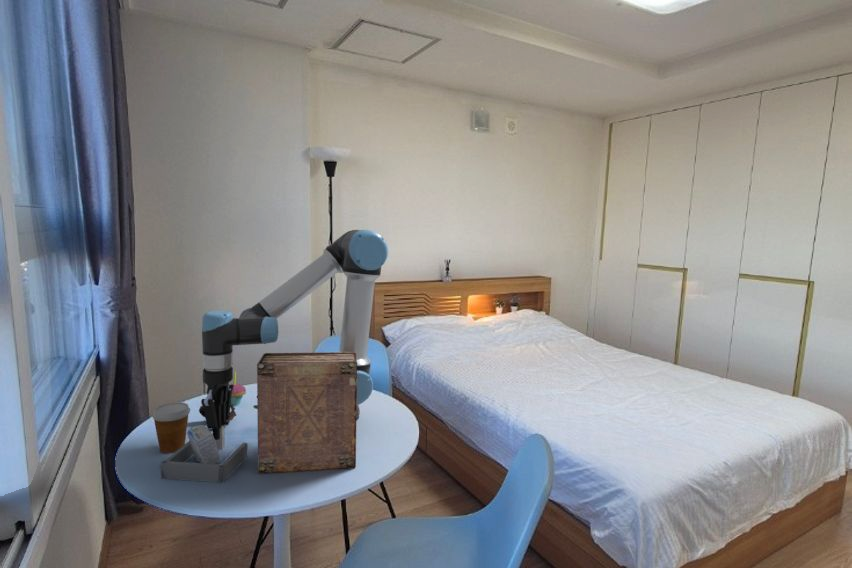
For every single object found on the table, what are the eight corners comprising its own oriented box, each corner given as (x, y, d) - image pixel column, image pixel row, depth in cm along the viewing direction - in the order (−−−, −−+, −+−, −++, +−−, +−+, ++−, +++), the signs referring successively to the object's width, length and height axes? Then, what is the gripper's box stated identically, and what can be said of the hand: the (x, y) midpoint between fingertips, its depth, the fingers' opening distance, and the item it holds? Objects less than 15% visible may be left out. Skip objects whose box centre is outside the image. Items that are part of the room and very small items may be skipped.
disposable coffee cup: (150, 458, 120) (148, 416, 119) (155, 443, 129) (154, 403, 128) (189, 452, 124) (188, 412, 123) (192, 438, 133) (191, 400, 132)
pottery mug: (239, 417, 150) (241, 401, 146) (227, 440, 142) (228, 424, 138) (204, 408, 149) (205, 392, 144) (189, 431, 141) (190, 415, 136)
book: (354, 451, 128) (357, 351, 125) (355, 468, 119) (358, 361, 116) (263, 456, 124) (263, 352, 120) (257, 474, 115) (257, 362, 111)
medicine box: (221, 460, 119) (213, 433, 116) (204, 469, 116) (195, 441, 114) (211, 449, 124) (203, 423, 122) (194, 458, 121) (186, 431, 119)
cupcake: (225, 399, 164) (225, 368, 163) (249, 399, 165) (248, 368, 164) (217, 408, 156) (216, 375, 154) (242, 408, 157) (241, 375, 155)
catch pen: (247, 456, 124) (247, 442, 123) (223, 482, 110) (223, 467, 110) (191, 452, 124) (191, 439, 124) (161, 478, 111) (160, 463, 111)
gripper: (217, 359, 128) (218, 437, 131) (190, 373, 115) (192, 459, 118) (242, 361, 127) (242, 438, 130) (218, 375, 115) (219, 461, 117)
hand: (218, 448), depth 124 cm, fingers closed
